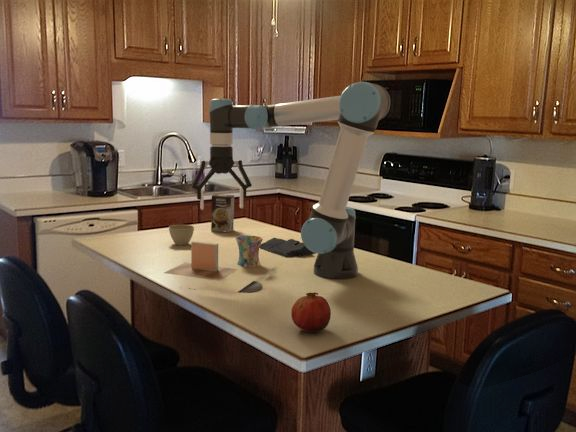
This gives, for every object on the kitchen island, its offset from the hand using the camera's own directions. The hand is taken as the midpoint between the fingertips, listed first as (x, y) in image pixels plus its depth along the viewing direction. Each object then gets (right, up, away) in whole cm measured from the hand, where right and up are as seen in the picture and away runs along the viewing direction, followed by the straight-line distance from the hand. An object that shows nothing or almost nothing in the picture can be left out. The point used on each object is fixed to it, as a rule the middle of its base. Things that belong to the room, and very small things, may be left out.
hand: (221, 208), depth 202 cm
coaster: (+9, -25, -18) cm, 32 cm away
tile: (-5, -20, -4) cm, 21 cm away
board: (-6, -22, -6) cm, 24 cm away
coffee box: (-7, -9, +66) cm, 67 cm away
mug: (+9, -21, +3) cm, 23 cm away
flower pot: (-20, -14, +37) cm, 45 cm away
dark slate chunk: (+22, -17, +32) cm, 42 cm away
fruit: (+28, -32, -52) cm, 67 cm away
